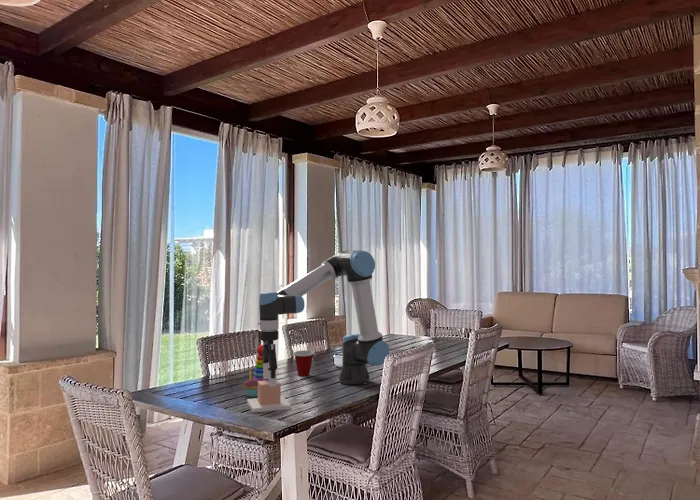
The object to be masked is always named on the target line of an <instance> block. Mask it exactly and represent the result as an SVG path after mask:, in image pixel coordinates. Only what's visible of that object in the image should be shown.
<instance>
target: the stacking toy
mask: <svg viewBox="0 0 700 500" xmlns="http://www.w3.org/2000/svg"><path fill="white" fill-rule="evenodd" d="M256 352H257V354H258V355H257V356H256V361H255V363H256V364H255V368H254V373H253V374H254V375H253V378H252V379H258V380H260V381H266V380H269V379H263V360H262V354H263V344H260V345H258V346H257V348H256Z"/></svg>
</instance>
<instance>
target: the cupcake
mask: <svg viewBox="0 0 700 500" xmlns="http://www.w3.org/2000/svg"><path fill="white" fill-rule="evenodd" d="M248 372H249V378H248V379H247V380H245V381H244V382H243V383H242V388H243V389H244V390H245V391H246V393H245V394H246V395H247V397H250V398H252V397H253V398H255V397H258V381H260V380H258V379H253V378H252V371H251V368H249V369H248Z"/></svg>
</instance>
